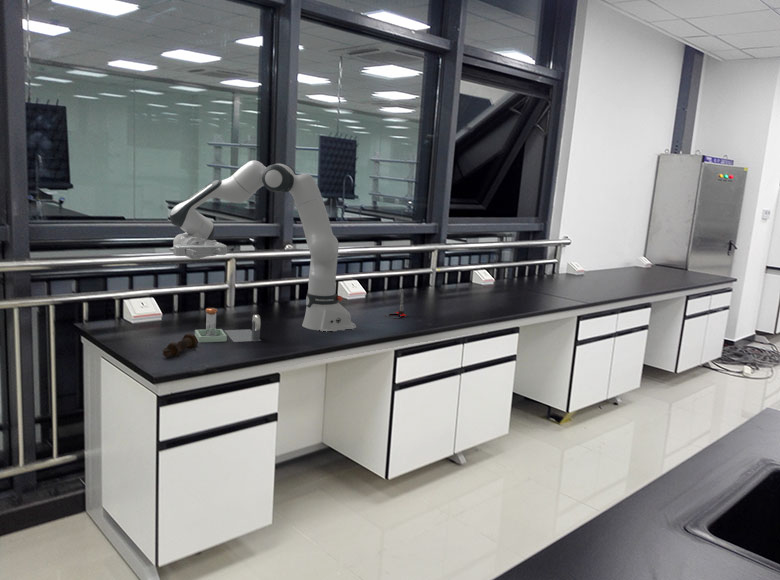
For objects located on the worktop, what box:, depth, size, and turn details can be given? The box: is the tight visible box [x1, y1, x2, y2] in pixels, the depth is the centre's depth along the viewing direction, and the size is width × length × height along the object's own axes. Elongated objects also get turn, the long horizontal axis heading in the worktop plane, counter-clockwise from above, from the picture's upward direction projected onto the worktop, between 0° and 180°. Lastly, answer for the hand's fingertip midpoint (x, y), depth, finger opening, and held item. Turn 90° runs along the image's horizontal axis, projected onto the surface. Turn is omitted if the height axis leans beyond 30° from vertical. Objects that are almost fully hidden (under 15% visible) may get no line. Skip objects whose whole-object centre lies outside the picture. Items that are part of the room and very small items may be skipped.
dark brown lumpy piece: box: [162, 333, 199, 358], centre depth 209 cm, size 6×5×15 cm
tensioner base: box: [223, 314, 262, 343], centre depth 233 cm, size 10×16×10 cm, turn 26°
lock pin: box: [205, 307, 218, 336], centre depth 225 cm, size 4×4×11 cm
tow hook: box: [395, 288, 408, 316], centre depth 289 cm, size 8×13×9 cm
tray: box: [194, 328, 228, 343], centre depth 226 cm, size 10×10×3 cm
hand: (207, 252), depth 236 cm, fingers open, 8 cm apart
